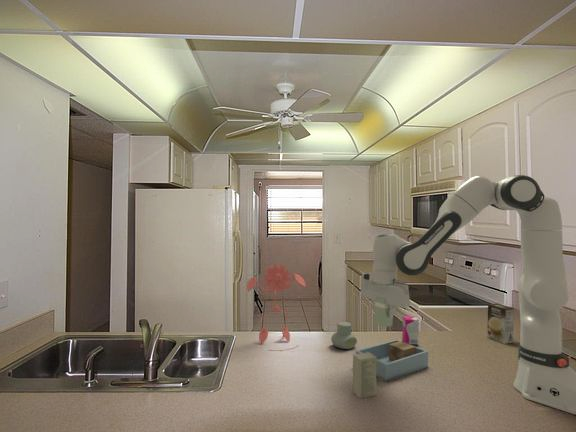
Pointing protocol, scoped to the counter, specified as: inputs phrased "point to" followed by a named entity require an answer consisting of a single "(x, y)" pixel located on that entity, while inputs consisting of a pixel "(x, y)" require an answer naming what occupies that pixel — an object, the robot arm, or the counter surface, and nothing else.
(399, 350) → the walnut block
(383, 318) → the carton
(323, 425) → the counter surface
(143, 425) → the counter surface
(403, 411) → the counter surface
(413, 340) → the supplement box
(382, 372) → the tote
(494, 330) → the coffee box
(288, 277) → the figurine
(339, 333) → the air freshener
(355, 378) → the skincare box
